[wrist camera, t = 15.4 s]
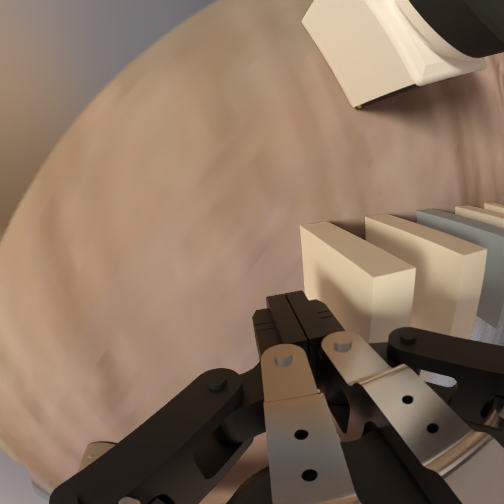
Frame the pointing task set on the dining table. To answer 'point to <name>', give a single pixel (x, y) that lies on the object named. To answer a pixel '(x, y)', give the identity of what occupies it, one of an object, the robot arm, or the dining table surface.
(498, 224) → the domino
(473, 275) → the domino
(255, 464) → the dining table surface
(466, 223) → the domino
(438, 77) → the medicine bottle
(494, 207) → the domino
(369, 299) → the domino
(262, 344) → the robot arm
